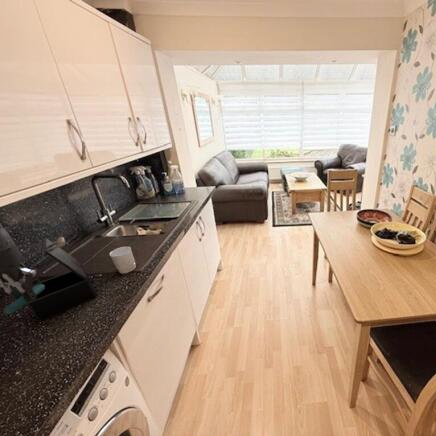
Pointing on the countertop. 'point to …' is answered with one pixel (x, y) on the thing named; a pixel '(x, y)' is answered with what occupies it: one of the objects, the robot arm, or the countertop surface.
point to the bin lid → (63, 257)
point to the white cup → (123, 259)
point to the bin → (62, 294)
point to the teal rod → (22, 300)
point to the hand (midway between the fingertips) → (27, 300)
